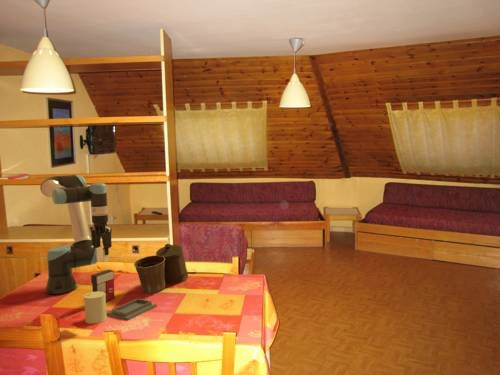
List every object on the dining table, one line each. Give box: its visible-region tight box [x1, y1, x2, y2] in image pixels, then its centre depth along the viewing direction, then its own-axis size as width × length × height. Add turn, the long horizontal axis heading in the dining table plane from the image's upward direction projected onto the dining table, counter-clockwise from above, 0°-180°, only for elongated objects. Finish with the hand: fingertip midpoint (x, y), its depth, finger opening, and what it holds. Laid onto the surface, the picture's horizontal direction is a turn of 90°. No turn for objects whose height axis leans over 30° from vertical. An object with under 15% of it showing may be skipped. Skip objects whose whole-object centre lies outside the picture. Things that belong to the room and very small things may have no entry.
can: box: [83, 291, 108, 325], centre depth 186 cm, size 9×9×12 cm
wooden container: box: [155, 243, 189, 285], centre depth 234 cm, size 15×15×22 cm
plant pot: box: [133, 254, 166, 294], centre depth 222 cm, size 16×16×16 cm
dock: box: [106, 298, 157, 321], centre depth 196 cm, size 14×18×2 cm
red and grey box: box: [90, 269, 115, 303], centre depth 208 cm, size 11×4×15 cm, turn 149°
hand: (102, 260), depth 207 cm, fingers open, 4 cm apart
